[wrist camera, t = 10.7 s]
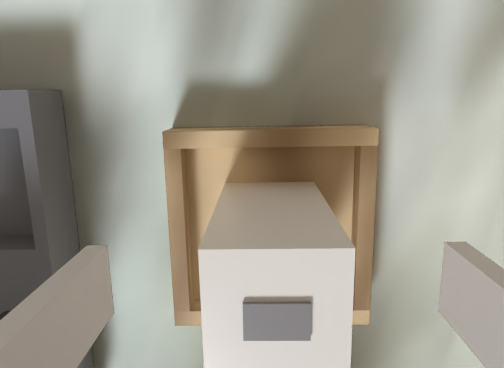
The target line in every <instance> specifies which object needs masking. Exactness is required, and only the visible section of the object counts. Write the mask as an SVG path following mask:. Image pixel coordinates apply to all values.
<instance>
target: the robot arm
mask: <svg viewBox="0 0 504 368" xmlns="http://www.w3.org/2000/svg"><path fill="white" fill-rule="evenodd" d="M438 311H439V312H440V314H441V315H442V316H443V317H444V318H445V320H446V321H447V322H448V323H449V324H450V326H451V327H452V328H453V329H454V331H455V332H456V333H457V334H458V335H459V337H460V338H461V339H462V340H463V341H464V343H465V344H466V345H467V346H468V347H469V349H470V350H471V351H472V352H473V354H474V355H475V356H476V357H477V358H478V360H479V361H480V362H481V363H482V364H483V366H484V367H485V368H504V269H503V268H502V267H500V266H499V265H498V264H496V263H495V262H493V261H492V260H491V259H489V258H488V257H486V256H485V255H484V254H482V253H481V252H479V251H478V250H477V249H475V248H474V247H472V246H471V245H470V244H468V243H467V242H444V252H443V263H442V274H441V285H440V296H439V307H438ZM113 314H114V306H113V296H112V286H111V276H110V267H109V257H108V247H107V245H87V246H86V247H84V248H83V249H82V250H81V251H80V252H79V253H78V254H76V255H75V256H74V257H73V258H72V259H71V260H69V261H68V262H67V263H66V264H65V265H64V266H63V267H61V268H60V269H59V270H58V271H57V272H56V273H54V274H53V275H52V276H51V277H50V278H49V279H47V280H46V281H45V282H44V283H43V284H42V285H41V286H39V287H38V288H37V289H36V290H35V291H34V292H32V293H31V294H30V295H29V296H28V297H27V298H26V299H24V300H23V301H22V302H21V303H20V304H19V305H17V306H16V307H15V308H14V309H13V310H12V311H5V312H3V313H2V314H0V368H77V367H78V366H79V364H80V363H81V361H82V360H83V358H84V357H85V355H86V354H87V352H88V351H89V349H90V348H91V346H92V345H93V343H94V342H95V340H96V339H97V337H98V336H99V334H100V333H101V331H102V330H103V328H104V327H105V325H106V324H107V322H108V321H109V319H110V318H111V316H112V315H113Z"/></svg>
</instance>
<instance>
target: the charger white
mask: <svg viewBox="0 0 504 368" xmlns="http://www.w3.org/2000/svg"><path fill="white" fill-rule="evenodd" d="M198 259H199V279H200V299H201V320H202V340H203V361H204V368H351V344H352V320H353V296H354V271H355V247H354V245H353V244H352V242H351V240H350V239H349V237H348V236H347V234H346V232H345V231H344V229H343V228H342V226H341V224H340V223H339V221H338V219H337V218H336V216H335V215H334V213H333V211H332V210H331V208H330V207H329V205H328V203H327V202H326V200H325V199H324V197H323V195H322V194H321V192H320V191H319V189H318V187H317V186H316V184H315V183H314V182H256V183H225V184H224V187H223V189H222V192H221V194H220V197H219V199H218V201H217V204H216V206H215V209H214V211H213V214H212V216H211V219H210V221H209V224H208V226H207V229H206V231H205V234H204V236H203V239H202V241H201V244H200V246H199V249H198Z"/></svg>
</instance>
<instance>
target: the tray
mask: <svg viewBox="0 0 504 368" xmlns="http://www.w3.org/2000/svg"><path fill="white" fill-rule="evenodd" d="M162 133H163V149H164V164H165V179H166V194H167V209H168V224H169V240H170V255H171V270H172V285H173V300H174V316H175V326H180V325H202V320H201V299H200V279H199V259H198V249H199V246H200V244H201V241H202V239H203V236H204V234H205V231H206V229H207V226H208V224H209V221H210V219H211V216H212V214H213V211H214V209H215V206H216V204H217V201H218V199H219V197H220V194H221V192H222V189H223V187H224V184H225V183H256V182H314V183H315V184H316V186H317V187H318V189H319V191H320V192H321V194H322V195H323V197H324V199H325V200H326V202H327V203H328V205H329V207H330V208H331V210H332V211H333V213H334V215H335V216H336V218H337V219H338V221H339V223H340V224H341V226H342V228H343V229H344V231H345V232H346V234H347V236H348V237H349V239H350V240H351V242H352V244H353V245H354V247H355V271H354V296H353V320H352V325H369V320H370V300H371V280H372V260H373V241H374V221H375V201H376V181H377V161H378V141H379V128H376V127H373V126H369V125H346V126H285V127H224V128H171V129H169V130H166V131H163V132H162Z"/></svg>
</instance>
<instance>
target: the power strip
mask: <svg viewBox="0 0 504 368" xmlns="http://www.w3.org/2000/svg"><path fill="white" fill-rule="evenodd" d="M79 252H80V247H79V238H78V230H77V221H76V213H75V204H74V196H73V187H72V179H71V170H70V162H69V153H68V145H67V136H66V128H65V119H64V111H63V102H62V94H61V90H0V313H3V312H5V311H12V310H13V309H14V308H15V307H16V306H17V305H19V304H20V303H21V302H22V301H23V300H24V299H26V298H27V297H28V296H29V295H30V294H31V293H32V292H34V291H35V290H36V289H37V288H38V287H39V286H41V285H42V284H43V283H44V282H45V281H46V280H47V279H49V278H50V277H51V276H52V275H53V274H54V273H56V272H57V271H58V270H59V269H60V268H61V267H63V266H64V265H65V264H66V263H67V262H68V261H69V260H71V259H72V258H73V257H74V256H75V255H76V254H78V253H79ZM77 368H94V366H93V357H92V349H91V348H90V349H89V351H88V352H87V354H86V355H85V357H84V358H83V360H82V361H81V363H80V364H79V366H78V367H77Z"/></svg>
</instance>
